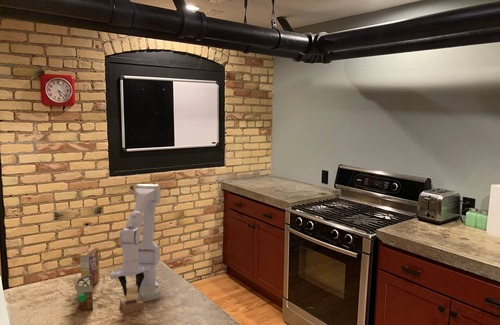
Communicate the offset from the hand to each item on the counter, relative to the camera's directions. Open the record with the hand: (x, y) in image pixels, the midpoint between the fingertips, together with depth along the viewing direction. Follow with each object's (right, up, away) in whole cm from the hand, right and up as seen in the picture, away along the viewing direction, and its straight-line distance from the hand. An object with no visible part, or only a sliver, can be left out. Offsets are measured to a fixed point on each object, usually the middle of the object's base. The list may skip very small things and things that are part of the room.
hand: (131, 293), depth 144 cm
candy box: (-23, -3, +19) cm, 30 cm away
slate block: (+4, -5, +10) cm, 12 cm away
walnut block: (0, -6, +1) cm, 6 cm away
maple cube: (0, -2, 0) cm, 2 cm away
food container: (-18, -5, +1) cm, 19 cm away
